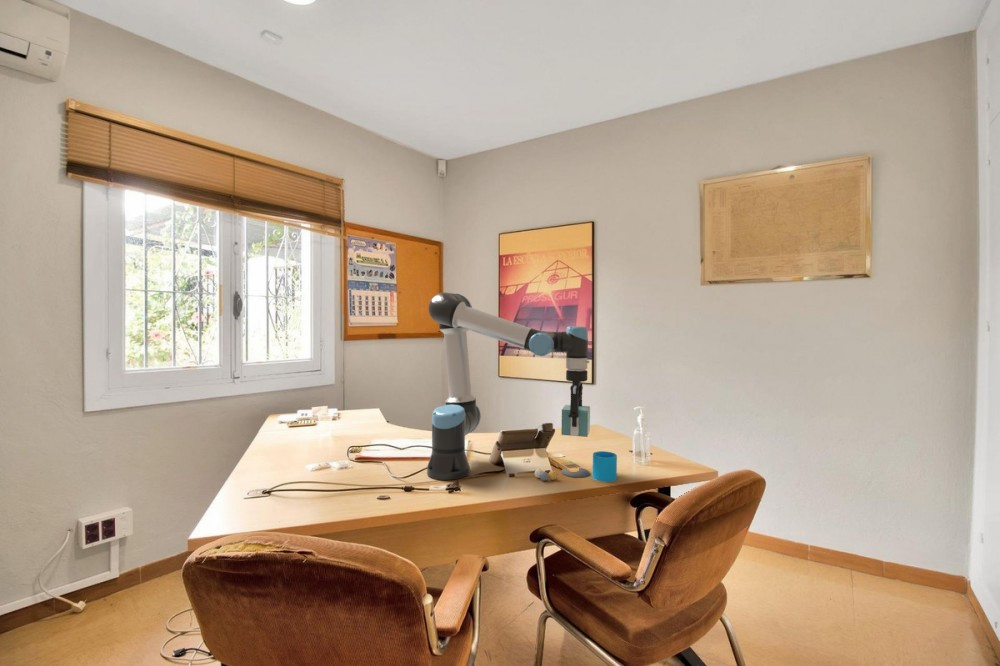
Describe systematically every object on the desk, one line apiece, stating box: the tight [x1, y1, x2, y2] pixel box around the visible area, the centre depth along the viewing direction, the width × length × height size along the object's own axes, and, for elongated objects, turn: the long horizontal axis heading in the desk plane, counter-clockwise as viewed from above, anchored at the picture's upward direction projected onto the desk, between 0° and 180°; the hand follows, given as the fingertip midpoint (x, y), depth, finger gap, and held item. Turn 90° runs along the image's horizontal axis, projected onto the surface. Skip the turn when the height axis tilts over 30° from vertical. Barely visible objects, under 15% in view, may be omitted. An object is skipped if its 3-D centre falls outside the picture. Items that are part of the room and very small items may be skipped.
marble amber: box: [548, 470, 558, 481], centre depth 160 cm, size 3×3×3 cm
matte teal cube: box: [560, 404, 591, 438], centre depth 167 cm, size 9×9×9 cm
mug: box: [592, 450, 618, 483], centre depth 164 cm, size 12×8×8 cm
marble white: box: [534, 468, 544, 479], centre depth 162 cm, size 3×3×3 cm
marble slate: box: [539, 471, 549, 482], centre depth 159 cm, size 3×3×3 cm
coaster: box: [561, 467, 591, 479], centre depth 167 cm, size 10×10×1 cm
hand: (576, 432), depth 167 cm, fingers closed on matte teal cube, 9 cm apart
